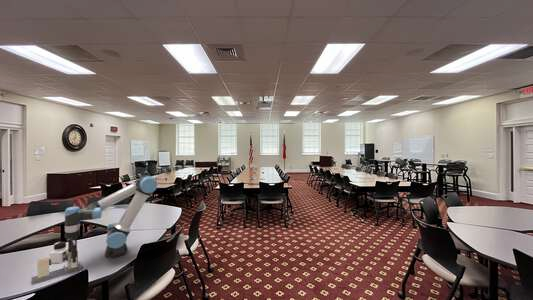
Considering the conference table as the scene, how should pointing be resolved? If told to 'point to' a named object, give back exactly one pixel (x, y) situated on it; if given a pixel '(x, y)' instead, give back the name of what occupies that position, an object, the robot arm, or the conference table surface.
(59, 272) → the rail
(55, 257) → the container
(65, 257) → the tan box
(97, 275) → the conference table surface
